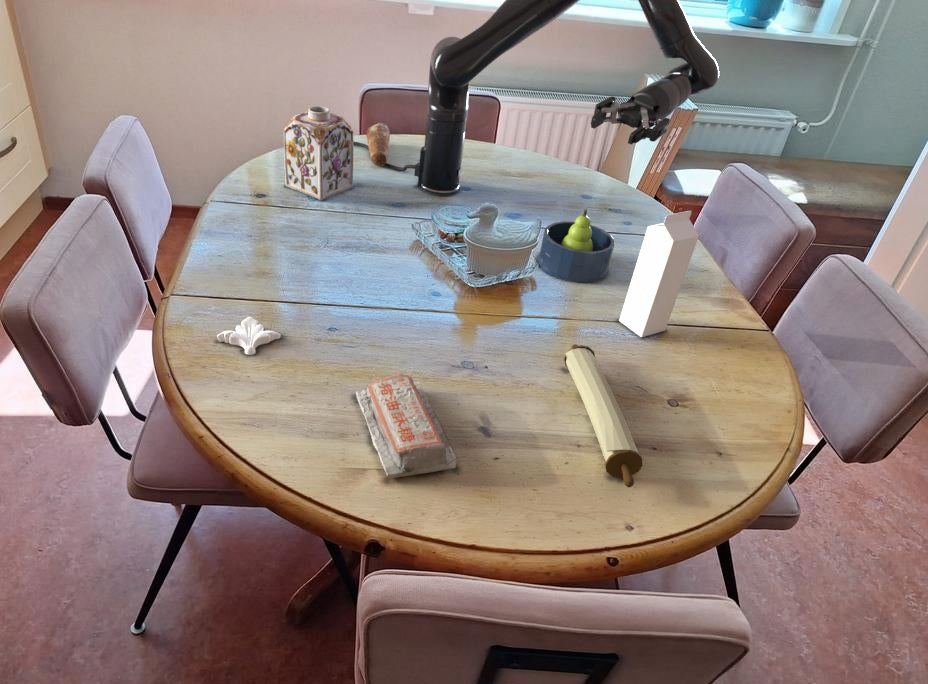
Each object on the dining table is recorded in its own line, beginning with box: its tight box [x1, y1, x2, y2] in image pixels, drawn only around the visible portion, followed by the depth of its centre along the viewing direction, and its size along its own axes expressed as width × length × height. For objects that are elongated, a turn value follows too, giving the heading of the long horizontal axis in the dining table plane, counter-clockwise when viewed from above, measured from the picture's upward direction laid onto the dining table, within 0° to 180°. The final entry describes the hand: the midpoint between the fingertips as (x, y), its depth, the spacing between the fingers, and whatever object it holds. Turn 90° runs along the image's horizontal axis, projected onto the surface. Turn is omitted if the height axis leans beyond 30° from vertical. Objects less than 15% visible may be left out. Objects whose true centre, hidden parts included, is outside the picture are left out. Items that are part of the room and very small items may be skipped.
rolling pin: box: [563, 344, 644, 488], centre depth 104 cm, size 32×6×5 cm, turn 3°
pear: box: [561, 208, 593, 252], centre depth 140 cm, size 6×6×12 cm
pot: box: [538, 220, 616, 283], centre depth 142 cm, size 14×14×6 cm
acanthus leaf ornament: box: [216, 316, 281, 356], centre depth 114 cm, size 8×7×2 cm
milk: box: [618, 210, 700, 338], centre depth 121 cm, size 6×6×22 cm
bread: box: [366, 122, 391, 167], centre depth 183 cm, size 6×19×6 cm, turn 1°
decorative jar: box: [283, 105, 355, 201], centre depth 160 cm, size 12×12×18 cm
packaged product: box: [355, 372, 458, 480], centre depth 98 cm, size 18×5×10 cm
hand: (611, 131), depth 137 cm, fingers open, 8 cm apart
